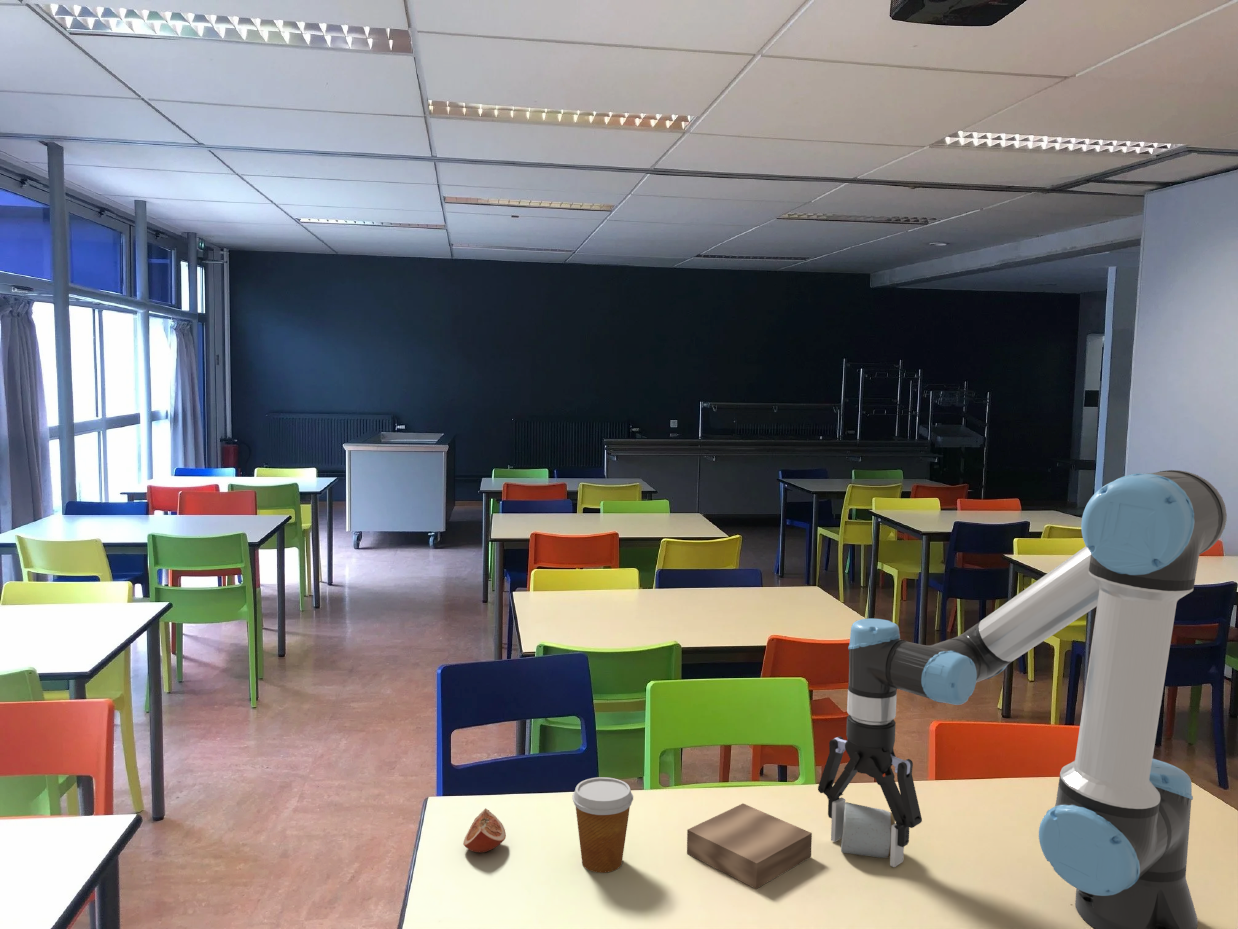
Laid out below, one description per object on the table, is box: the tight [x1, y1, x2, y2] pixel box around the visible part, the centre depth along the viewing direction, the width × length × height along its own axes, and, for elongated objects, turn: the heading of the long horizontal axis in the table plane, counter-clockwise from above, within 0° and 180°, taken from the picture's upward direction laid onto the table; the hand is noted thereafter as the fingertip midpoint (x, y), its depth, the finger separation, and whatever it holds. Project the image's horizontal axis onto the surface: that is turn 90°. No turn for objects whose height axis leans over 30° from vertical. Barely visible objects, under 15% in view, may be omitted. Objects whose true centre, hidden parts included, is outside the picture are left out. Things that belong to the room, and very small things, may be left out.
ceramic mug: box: [840, 801, 896, 859], centre depth 150 cm, size 11×8×8 cm
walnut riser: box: [686, 803, 813, 890], centre depth 148 cm, size 14×14×4 cm
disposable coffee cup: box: [571, 776, 634, 874], centre depth 144 cm, size 10×10×12 cm
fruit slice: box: [463, 808, 507, 853], centre depth 149 cm, size 8×7×5 cm
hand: (866, 850), depth 149 cm, fingers closed on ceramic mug, 10 cm apart
